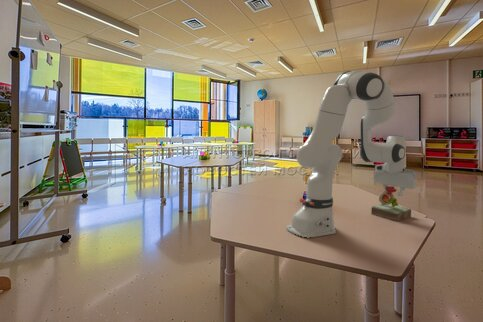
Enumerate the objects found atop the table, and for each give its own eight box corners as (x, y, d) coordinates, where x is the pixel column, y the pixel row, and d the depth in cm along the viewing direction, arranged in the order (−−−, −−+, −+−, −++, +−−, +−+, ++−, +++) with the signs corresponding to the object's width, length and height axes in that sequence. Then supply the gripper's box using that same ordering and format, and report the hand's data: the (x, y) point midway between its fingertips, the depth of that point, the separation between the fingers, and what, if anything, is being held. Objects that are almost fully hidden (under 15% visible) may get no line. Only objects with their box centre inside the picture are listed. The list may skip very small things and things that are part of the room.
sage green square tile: (396, 221, 122) (396, 213, 122) (371, 214, 133) (371, 206, 133) (410, 216, 128) (411, 209, 128) (385, 210, 140) (386, 203, 139)
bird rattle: (385, 211, 128) (403, 205, 127) (380, 192, 126) (398, 186, 125) (379, 206, 134) (395, 201, 133) (374, 188, 132) (391, 182, 131)
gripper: (420, 169, 120) (418, 197, 121) (379, 165, 138) (378, 189, 139) (413, 170, 117) (411, 199, 118) (372, 166, 135) (371, 191, 136)
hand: (393, 194), depth 129 cm, fingers open, 5 cm apart
